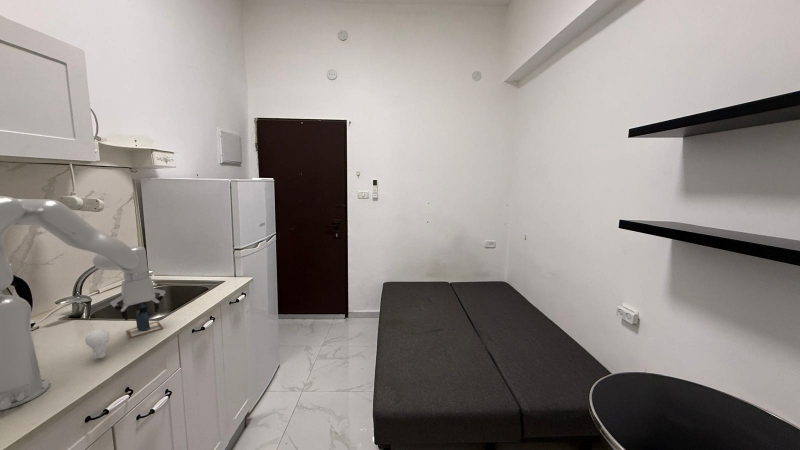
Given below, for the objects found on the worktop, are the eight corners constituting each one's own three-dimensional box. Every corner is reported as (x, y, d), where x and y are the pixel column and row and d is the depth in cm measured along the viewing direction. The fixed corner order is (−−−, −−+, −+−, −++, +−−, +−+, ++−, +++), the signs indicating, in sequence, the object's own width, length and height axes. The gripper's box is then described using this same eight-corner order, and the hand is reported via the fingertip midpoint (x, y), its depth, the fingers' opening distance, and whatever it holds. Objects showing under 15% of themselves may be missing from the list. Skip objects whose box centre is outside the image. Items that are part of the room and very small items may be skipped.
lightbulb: (101, 363, 103) (96, 334, 101) (83, 363, 103) (78, 334, 101) (117, 353, 109) (113, 325, 107) (101, 353, 109) (96, 325, 107)
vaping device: (145, 332, 123) (140, 305, 121) (136, 330, 124) (131, 303, 122) (151, 328, 125) (147, 302, 123) (143, 327, 127) (138, 301, 125)
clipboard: (163, 328, 127) (162, 325, 127) (129, 339, 119) (128, 336, 118) (158, 322, 133) (158, 319, 132) (126, 331, 124) (125, 328, 124)
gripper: (161, 270, 130) (165, 306, 132) (106, 279, 117) (112, 319, 120) (164, 273, 125) (169, 311, 128) (108, 283, 112) (114, 325, 115)
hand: (141, 315), depth 124 cm, fingers open, 9 cm apart
